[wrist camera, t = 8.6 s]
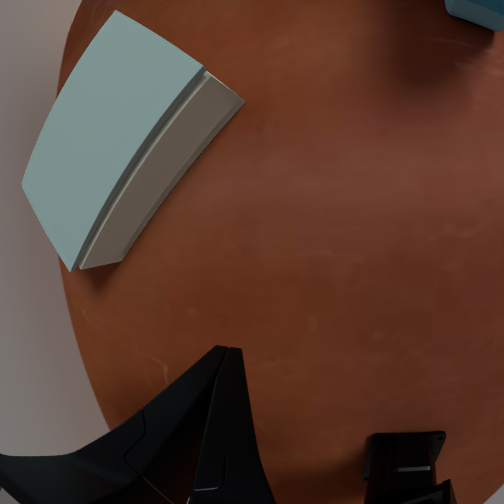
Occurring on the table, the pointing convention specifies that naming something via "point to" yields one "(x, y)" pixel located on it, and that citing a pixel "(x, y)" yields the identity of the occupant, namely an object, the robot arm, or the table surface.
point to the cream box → (161, 168)
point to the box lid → (102, 128)
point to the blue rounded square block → (479, 12)
